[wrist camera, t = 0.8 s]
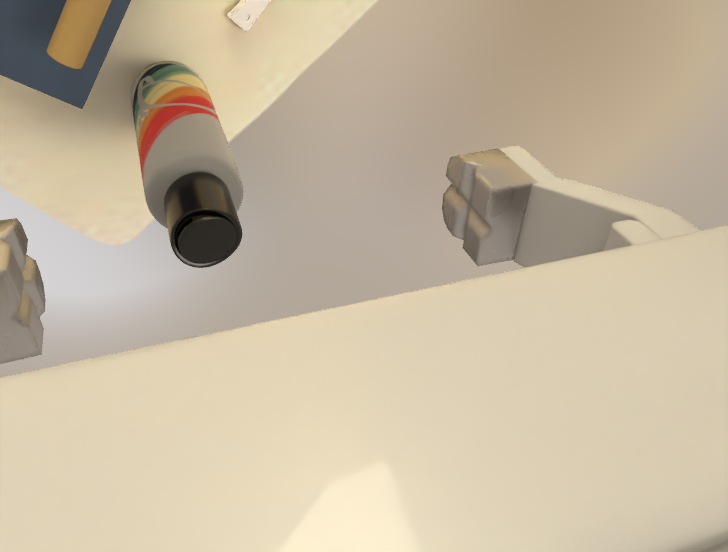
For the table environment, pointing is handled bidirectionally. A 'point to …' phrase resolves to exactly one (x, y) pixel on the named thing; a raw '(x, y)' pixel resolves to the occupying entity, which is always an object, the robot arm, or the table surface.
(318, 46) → the table surface
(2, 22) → the lid
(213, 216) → the lotion bottle
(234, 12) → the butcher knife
